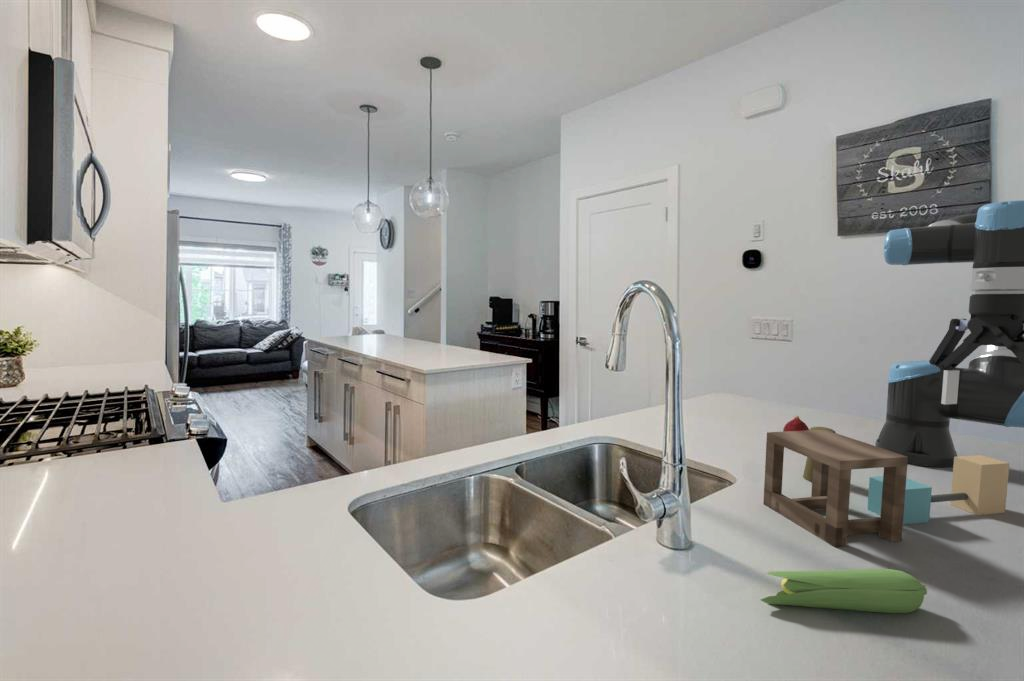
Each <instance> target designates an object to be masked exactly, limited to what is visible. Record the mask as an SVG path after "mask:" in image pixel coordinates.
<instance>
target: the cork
mask: <svg viewBox="0 0 1024 681" xmlns="http://www.w3.org/2000/svg"><path fill="white" fill-rule="evenodd" d="M809 430H828V431H831V432H834V433H836V431H835V430H834V429H832V428H829V427H827V426H812V427H811V428H809ZM812 476H813V459H811V458H809V457H807V456H806V460H805V465H804V469H803V474H802V478H803V479H804V480H806V481H808V482H810V483H812Z"/></svg>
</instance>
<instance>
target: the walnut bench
mask: <svg viewBox="0 0 1024 681" xmlns="http://www.w3.org/2000/svg"><path fill="white" fill-rule="evenodd" d="M765 445H766V446H765V447H766V448H765V465H764V469H765V470H764V483H763V484H764V486H763V505H765V506H766V507H768V508H770V509H771V510H773V511H775V512H777V514H779V515H781V516H782V517H785V518H786V519H787V520H790V521H791V522H792V523H795V525H798V526H800V527H801V528H803V529H805V530H806V531H808V532H809V533H811V534H812V535H814V536H816V537H817V538H819V539H821V540H822V541H824V542H826V543H828V544H829V545H830V546H832V547H834V548H842V547H847V542H848V540H847V539H848V536H851V535H861V534H872V533H878V534H879V535H878V536H880V537H881V538H883V539H885V540H887V541H889V542H900V541H902V540H903V528H904V527H903V526H904V524H903V517H904V503H905V490H906V478H907V474H908V464H909V463H908V457H907V456H904V455H901V454H898V453H895V452H892V451H889V450H886V449H882V448H879V447H876V446H875V445H873V444H870V443H868V442H864V441H861V440H858V439H854V438H851V437H850V436H849V437H848V436H845V435H843V434H839V433H834V432H831V431H828V430H805V431H785V432H783V431H769V432H766V444H765ZM785 449H787V450H790V451H792V452H795V453H798V454H800V455H802V456H804V457H806V458H807V457H809V458H811V459H813V476H812V482H811V495H810V496H808V497H807V496H806V497H797V498H796V497H795V498H794V497H793V498H789V497H788V496H786V495H784V494H783V473H784V457H785V456H784V455H785V451H784V450H785ZM878 468H883V475H882V476H883V488H882V502H881V516H880V515H879V516H873V517H866V518H862V517H861V518H853V519H852V518H851V519H849V515H850V514H849V510H850V498H851V497H850V496H851V495H850V494H851V481H852V480H851V479H852V470H863V469H878ZM821 510H826V511H825V517H824V516H822V515H821V514H819V513H818V512H816V511H821Z"/></svg>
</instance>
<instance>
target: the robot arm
mask: <svg viewBox="0 0 1024 681" xmlns="http://www.w3.org/2000/svg"><path fill="white" fill-rule="evenodd" d="M883 258H884V261H885V262H886V264H888V265H890V266H898V265H899V266H911V265H913V266H914V265H927V264H928V265H930V264H956V263H957V264H959V263H960V264H961V263H962V264H963V263H973V264H972V269H971V270H972V271H971V282H970V283H971V284H970V290H971V291H972V292H973V291H974V294H971V295H970V296H969V304H968V314H969V315H970V318H969V320H968V319H966V318H952V319H950V321H949V324H948V330H947V331H946V333H945V335H944V337H943V338H942V340H941V342H939V344H938V346H937V348H936V349H935V351H934V353H933V354H932V356H931V357H930V359H929V360H927V359H925V360H924V359H922V360H908V361H899V362H895V363H894V364H893V365H891V366H890V369H889V373H888V380H887V384H888V385H887V398H886V403H887V404H886V414H885V415H886V416H885V422H884V425H883V427H882V428H881V431H880V432H879V436H878V438H877V439H875V440H876V441H875V442H874V443H875V444H874V446H876V447H879V448H882V449H886V450H889V451H892V452H895V453H898V454H901V455H904V456H907V457H908V463H907V464H909V465H916V466H923V467H931V468H932V467H933V468H948V467H950V466H951V467H953V465H954V457H958V453H957V451H956V449H955V445H954V444H955V443H954V440H953V438H952V435H951V431H950V423H951V419H954V420H959V421H960V420H961V421H966V422H974V423H982V424H989V425H993V426H994V425H995V426H1001V427H1005V428H1010V427H1011V428H1022V429H1024V199H1023V200H1020V199H1019V200H1007V201H1005V200H1004V201H999V202H993V203H987V204H984V205H982V206H980V207H979V208H978V210H977V213H968V214H963V215H957V216H955V217H950V218H947V219H942V220H939V221H935V222H933V223H930V224H929V225H928V226H919V227H904V228H897V229H890V230H889V231H888V232H887V233H886V235H885V236H884V243H883ZM967 330H969V332H970V333H969V334H968V335H967V336H966V337H965V338H964V339H963V340H962V338H963V337H964V334H966V331H967ZM961 340H962V343H961V344H960V345H958V344H959V343H960V342H961ZM979 347H980V348H979ZM978 348H979V355H977V356H976V357H973V358H971V359H970V361H969V363H968V368H967V367H965V368H964V367H958V366H959V365H960V364H961V363H962V362H964V361H965V360H966V359H967V358H968V357H969V356H971V354H972V353H973V352H975V351H976V350H977V349H978Z"/></svg>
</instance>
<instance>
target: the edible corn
mask: <svg viewBox="0 0 1024 681" xmlns="http://www.w3.org/2000/svg"><path fill="white" fill-rule="evenodd" d="M766 574H767V575H769V576H770V575H771V576H773V577H779V578H782V581H781V584H780V587H781V588H782V590H781V591H777V593H776V595H770V596H766V597H763V598H761V599H760V601H761V602H763V603H765V604H768V605H776V604H777V606H794V607H795V606H796V607H797V606H798V607H807V608H818V609H819V608H820V609H832V610H833V609H835V610H847V611H848V610H849V611H861V612H873V613H886V614H909V613H912V612H915V611H916V610H918V609H919V608H920V607H921V606H922V604H923V602H924V598H925V595H927V594H928V589H927V587H926V585H925V584H923V583H921V582H920V581H919V580H918V578H916V577H914V576H913V575H911V574H909V573H907V572H905V571H903V570H898V569H892V568H891V569H888V568H885V569H881V568H878V569H877V568H874V569H873V568H869V569H840V570H839V569H837V570H831V569H830V570H829V569H828V570H795V571H794V570H791V571H789V570H784V571H782V570H781V571H779V570H778V571H776V570H775V571H773V570H772V571H767V572H765V575H766Z"/></svg>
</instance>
